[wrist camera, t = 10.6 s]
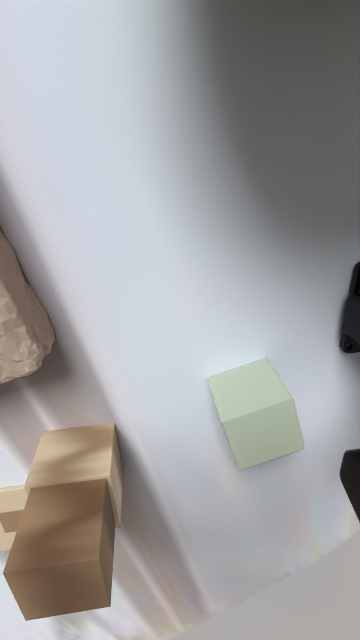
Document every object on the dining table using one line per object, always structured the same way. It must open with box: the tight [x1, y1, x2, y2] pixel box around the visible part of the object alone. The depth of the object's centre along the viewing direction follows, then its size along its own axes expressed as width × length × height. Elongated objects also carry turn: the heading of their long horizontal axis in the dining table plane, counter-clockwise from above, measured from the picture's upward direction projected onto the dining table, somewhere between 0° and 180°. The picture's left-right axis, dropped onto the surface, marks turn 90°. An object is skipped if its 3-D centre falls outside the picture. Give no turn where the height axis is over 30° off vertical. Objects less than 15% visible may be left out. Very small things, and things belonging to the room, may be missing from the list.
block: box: [206, 358, 304, 471], centre depth 22 cm, size 4×4×4 cm
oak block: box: [24, 423, 123, 528], centre depth 22 cm, size 5×5×4 cm
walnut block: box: [3, 478, 115, 621], centre depth 18 cm, size 4×4×4 cm
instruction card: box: [0, 485, 28, 551], centre depth 26 cm, size 9×7×1 cm
